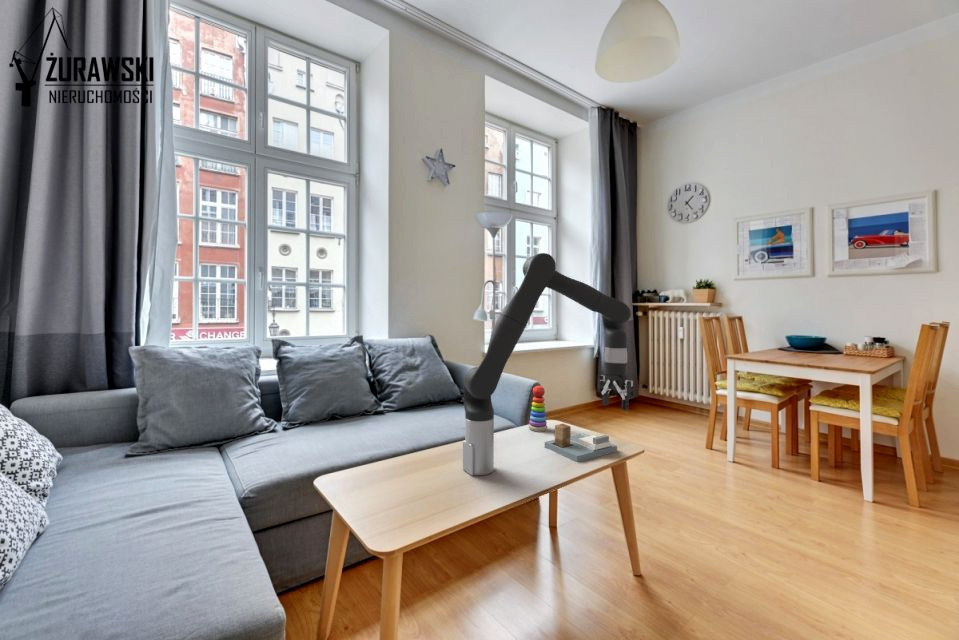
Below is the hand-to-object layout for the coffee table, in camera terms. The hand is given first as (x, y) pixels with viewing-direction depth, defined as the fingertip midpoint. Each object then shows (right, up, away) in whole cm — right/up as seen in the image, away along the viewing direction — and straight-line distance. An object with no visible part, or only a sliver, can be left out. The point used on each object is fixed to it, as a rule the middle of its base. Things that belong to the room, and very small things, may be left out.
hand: (615, 407), depth 142 cm
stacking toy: (-22, -17, +35) cm, 44 cm away
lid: (-5, -16, +9) cm, 18 cm away
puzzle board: (-10, -18, +10) cm, 23 cm away
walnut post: (-16, -18, +10) cm, 26 cm away
